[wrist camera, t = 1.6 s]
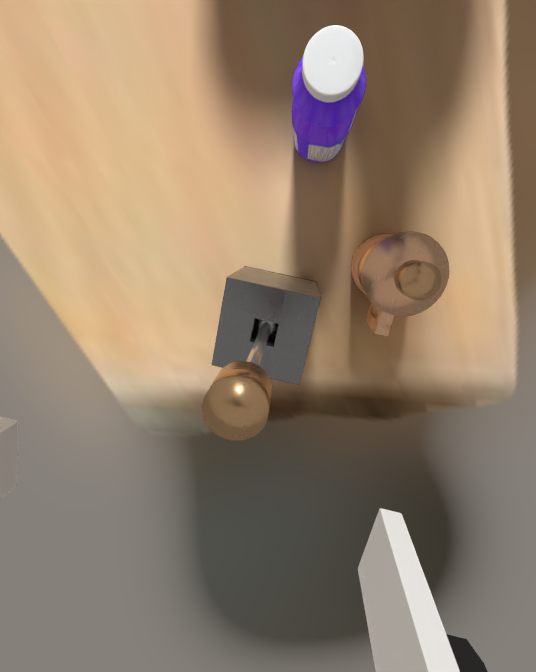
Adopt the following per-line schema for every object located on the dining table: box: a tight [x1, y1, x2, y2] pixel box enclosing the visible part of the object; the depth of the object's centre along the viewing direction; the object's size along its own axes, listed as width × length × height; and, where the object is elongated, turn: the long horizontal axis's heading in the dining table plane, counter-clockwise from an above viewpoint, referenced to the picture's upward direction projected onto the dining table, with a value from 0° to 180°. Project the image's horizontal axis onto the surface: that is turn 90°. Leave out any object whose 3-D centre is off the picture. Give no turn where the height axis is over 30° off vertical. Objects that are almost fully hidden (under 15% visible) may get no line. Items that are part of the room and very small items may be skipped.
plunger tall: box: [202, 318, 279, 441], centre depth 29 cm, size 7×7×19 cm
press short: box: [351, 232, 449, 336], centre depth 37 cm, size 11×8×15 cm
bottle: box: [292, 25, 366, 162], centre depth 32 cm, size 7×6×17 cm
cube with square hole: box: [212, 266, 321, 385], centre depth 41 cm, size 12×9×12 cm
